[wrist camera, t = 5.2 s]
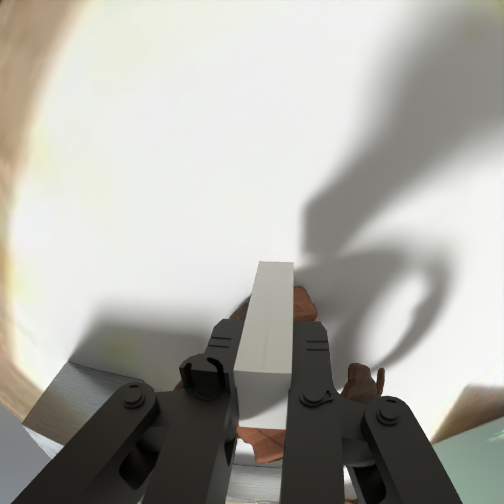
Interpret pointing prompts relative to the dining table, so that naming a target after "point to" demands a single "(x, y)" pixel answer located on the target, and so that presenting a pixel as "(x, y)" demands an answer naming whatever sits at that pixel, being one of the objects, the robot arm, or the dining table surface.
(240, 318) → the brown curved piece
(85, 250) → the dining table surface
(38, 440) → the motor bracket
